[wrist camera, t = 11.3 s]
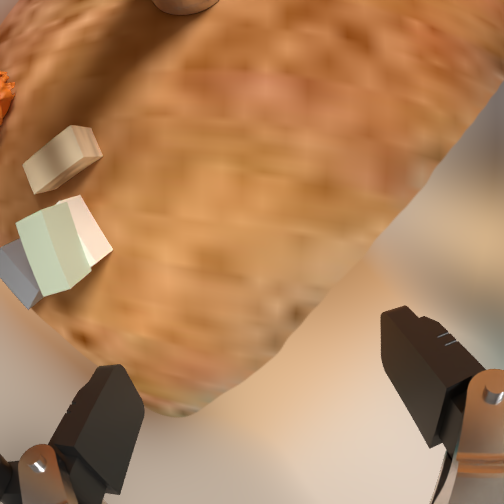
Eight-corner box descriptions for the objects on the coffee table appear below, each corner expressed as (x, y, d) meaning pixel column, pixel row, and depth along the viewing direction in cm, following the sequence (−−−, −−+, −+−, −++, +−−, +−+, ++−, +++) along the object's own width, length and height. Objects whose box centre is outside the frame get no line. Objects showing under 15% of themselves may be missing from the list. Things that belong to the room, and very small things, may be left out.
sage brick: (41, 213, 28) (15, 223, 23) (67, 201, 28) (41, 209, 23) (65, 279, 30) (43, 296, 26) (91, 270, 30) (70, 288, 25)
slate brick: (12, 256, 35) (-8, 267, 30) (22, 237, 34) (0, 247, 29) (46, 294, 36) (28, 309, 32) (57, 276, 36) (38, 291, 31)
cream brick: (60, 212, 33) (38, 220, 28) (80, 194, 33) (59, 200, 28) (91, 265, 35) (73, 279, 30) (113, 249, 35) (96, 262, 30)
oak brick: (56, 189, 32) (34, 194, 28) (45, 162, 31) (22, 164, 26) (103, 156, 32) (83, 156, 27) (91, 128, 30) (70, 124, 26)
